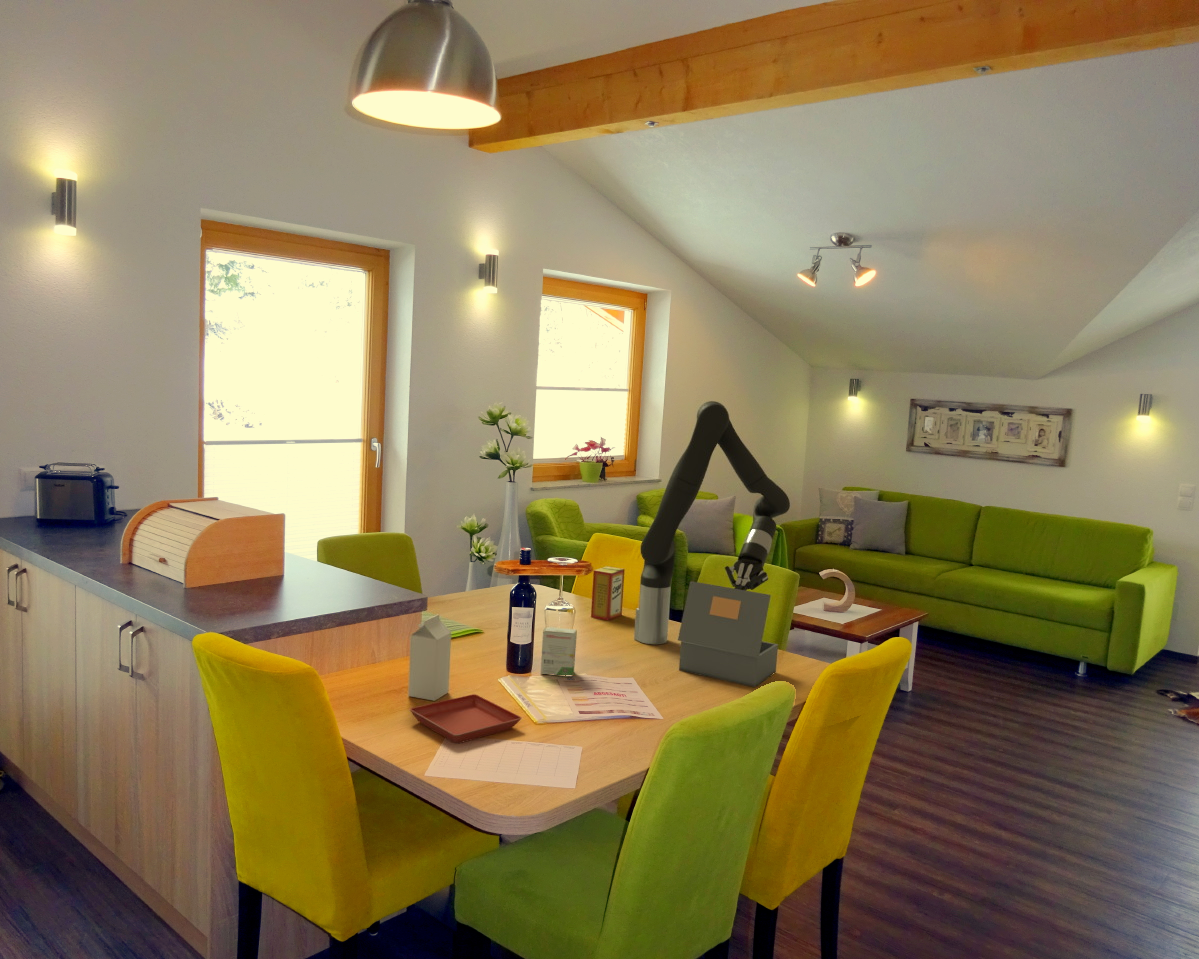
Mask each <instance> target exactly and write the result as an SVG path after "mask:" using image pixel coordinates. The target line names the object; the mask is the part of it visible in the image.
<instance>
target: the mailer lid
mask: <svg viewBox="0 0 1199 959" xmlns="http://www.w3.org/2000/svg"><path fill="white" fill-rule="evenodd" d="M734 588H735V587H734ZM734 588H733V587H727V586H722V585H715V584H710V583H703V582H699V581H698V582H697V581H693V580H691V581H690V582H689V586H688V590H687V596H686V598H685V599H686V600H685V604H684V605H685V606H684V609H683V614H682V619H681V623H680V629H679V633H678V636H677V641H680V642H681V641H683V642H688V643H693V644H697V645H702V646H707V647H712V648H716V649H721V650H726V651H731V652H735V653H740V654H745V655H750V656H755V657H759V653H760V648H761V643H762V641H763V637H764V632H765V627H766V623H767V622H766V621H767V616H768V611H769V607H770V603H771V594H766V593H762V592H758V591H757V592H755V591H750V590H746V591H745V590H739V589H734Z"/></svg>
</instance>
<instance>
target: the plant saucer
mask: <svg viewBox="0 0 1199 959" xmlns="http://www.w3.org/2000/svg"><path fill="white" fill-rule="evenodd" d="M409 711H410V712H411V714H412V716H414V717H415V719H416V720H417V721H418V722H419V723H420V724H422V725H423V726H425V727H427V728H429V729H431V731H434V732H435V733H437V734H439V735H441V736H443V737H444V738H446V739H447V738H448V740H449V739H450V741H451V742H453V743H454V742H455V744H460V742H461V743H464V742H463V741H465V742H468V741H470V739H472V740H475V738H476V739H479V738H482V737H487V736H490V735H493V734H497V733H501V732H505V731H509V730H510V729H512V728H513V727H515V726H516V725H517V724H518V723H519V722H520V721H521V720H522V716H520V715H518V714H516V713H514V712H513V711H510V710H508V709H506V708H504V707H502V706H500V705H498V704H496V703H495V702H493V701H490V700H489V699H487V698H484V697H483V696H480V695H479V694H476V693H475V694H474V693H473V694H469V695H463V696H459V697H456V698H451V699H446V700H442V701H437V702H433V703H427V704H423V705H419V706H415V707H412V708H410V710H409ZM467 740H468V741H467Z"/></svg>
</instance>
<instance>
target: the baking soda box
mask: <svg viewBox="0 0 1199 959" xmlns="http://www.w3.org/2000/svg"><path fill="white" fill-rule="evenodd" d="M592 579H593V580H592V590H591V591H592V595H591V607H590V608H591V611H590V613H591V614H590V618H593V619H596V620H597V619H598V620H604V621H610V620H614V619H616V618H619V617H621V616H622V614H623V603H624V602H623V601H624V600H623V599H624V586H625V585H624V584H625V582H624V581H625V568H621V567H620V568H619V567H613V566H608V565H607V566H604V567H601V568H597V569H594V570H593V578H592Z"/></svg>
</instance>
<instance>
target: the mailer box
mask: <svg viewBox="0 0 1199 959" xmlns="http://www.w3.org/2000/svg"><path fill="white" fill-rule="evenodd" d="M778 650H779V644H778V643H772V642H769V641H768V642H767V641H763V640H762V643H761V648H760V653H759V657H755V656H750V655H745V654H740V653H735V652H731V651H726V650H721V649H716V648H712V647H707V646H702V645H697V644H693V643H688V642H683V641H680V650H679V663H678V665H679V666H678V670H679V671H681V672H685V673H689V674H690V673H691V674H694V675H700V676H703V677H708V678H710V679H711V678H712V679H717V680H721V681H725V682H729V683H734V684H739V685H743V686H746V687H752V688H756V687H758V686H759V685H761V684H762V683H763V682H765V681H767V680H768V679H769V678H771V677H772V676H773V675H774V674H773V673H775V672H777V664H778V663H777V662H778V661H777V660H778ZM772 674H773V675H772ZM775 674H776V673H775ZM771 675H772V676H771ZM768 677H769V678H768ZM767 678H768V679H767Z"/></svg>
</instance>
